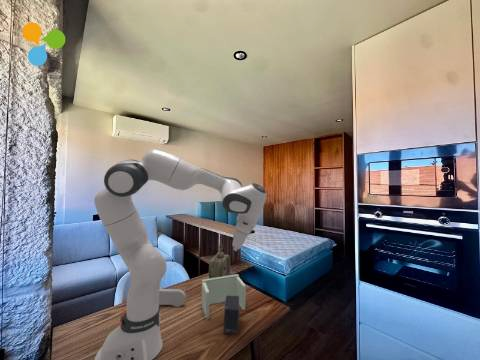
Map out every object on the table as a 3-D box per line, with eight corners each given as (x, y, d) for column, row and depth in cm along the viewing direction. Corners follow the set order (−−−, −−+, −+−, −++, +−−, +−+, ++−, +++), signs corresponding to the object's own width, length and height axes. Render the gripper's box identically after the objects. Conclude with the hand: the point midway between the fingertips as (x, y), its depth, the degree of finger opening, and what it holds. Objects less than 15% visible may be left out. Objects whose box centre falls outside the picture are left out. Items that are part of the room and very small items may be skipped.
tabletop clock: (222, 292, 117) (222, 249, 118) (207, 289, 120) (208, 247, 120) (230, 280, 131) (230, 241, 132) (217, 278, 134) (217, 240, 134)
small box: (238, 334, 85) (239, 309, 85) (223, 334, 85) (223, 309, 85) (239, 317, 96) (239, 295, 96) (225, 317, 96) (225, 295, 96)
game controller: (186, 304, 106) (186, 288, 106) (184, 307, 103) (185, 290, 103) (148, 303, 106) (149, 287, 106) (146, 306, 103) (147, 290, 103)
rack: (205, 318, 95) (206, 291, 95) (201, 304, 105) (201, 279, 106) (245, 309, 102) (245, 283, 102) (237, 297, 113) (237, 274, 113)
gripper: (245, 206, 98) (236, 228, 103) (234, 228, 79) (225, 254, 84) (257, 210, 98) (248, 233, 103) (249, 234, 79) (239, 260, 84)
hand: (237, 243), depth 93 cm, fingers open, 8 cm apart
